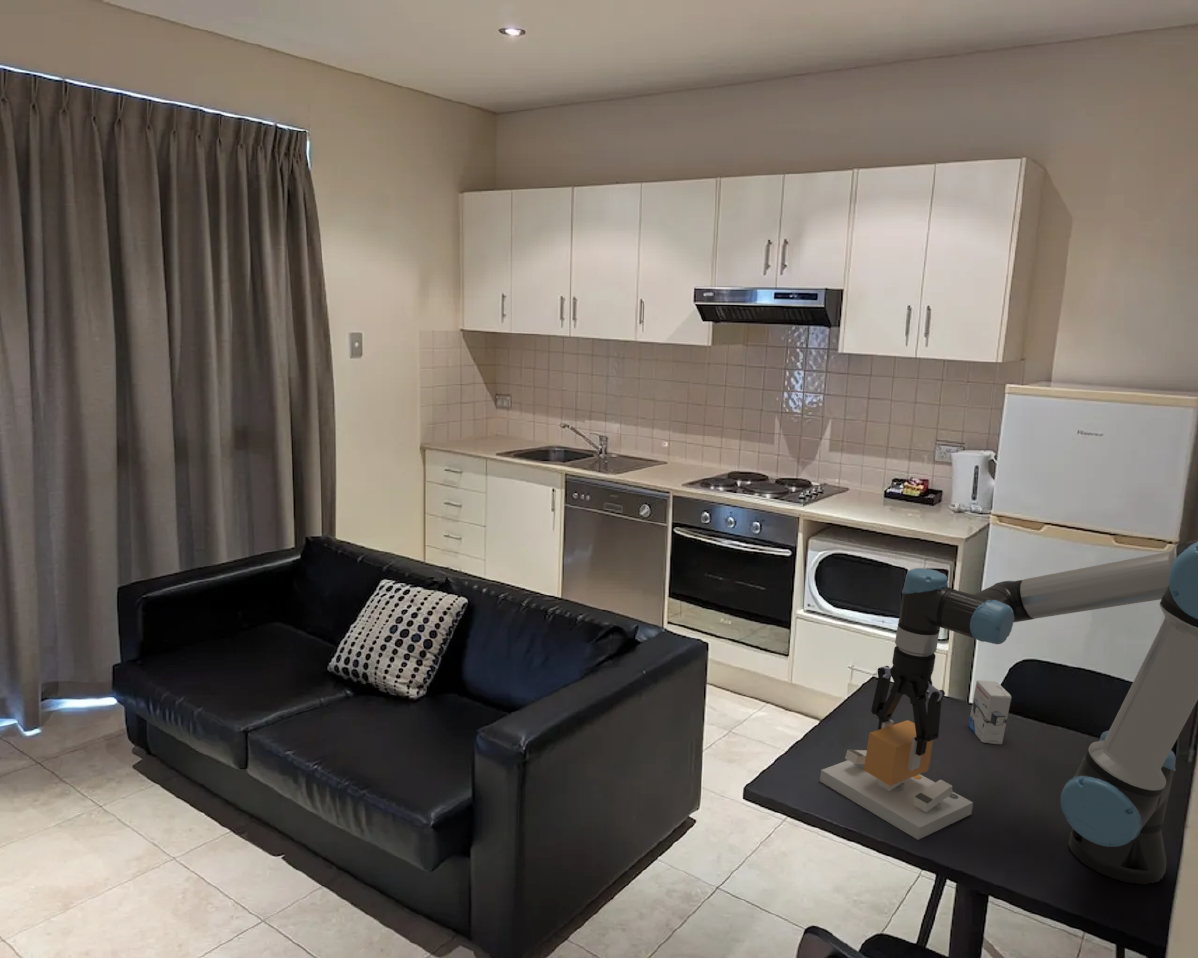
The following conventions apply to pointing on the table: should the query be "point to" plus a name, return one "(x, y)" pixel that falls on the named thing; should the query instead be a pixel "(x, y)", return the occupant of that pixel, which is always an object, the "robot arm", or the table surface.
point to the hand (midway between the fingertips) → (898, 759)
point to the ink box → (989, 711)
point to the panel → (895, 799)
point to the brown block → (894, 753)
